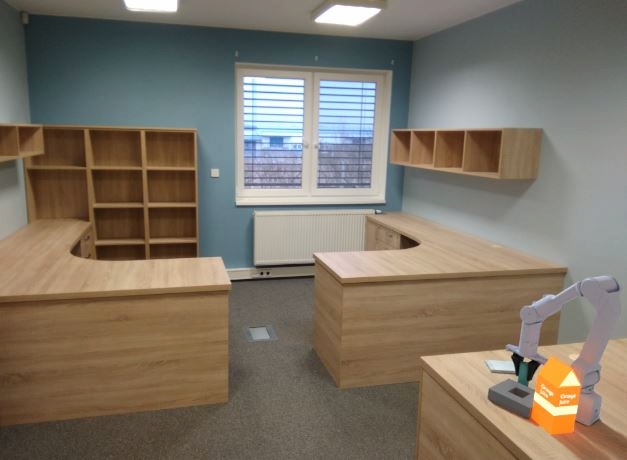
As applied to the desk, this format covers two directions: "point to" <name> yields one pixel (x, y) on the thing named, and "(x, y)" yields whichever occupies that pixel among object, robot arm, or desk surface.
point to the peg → (523, 373)
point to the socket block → (513, 397)
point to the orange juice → (556, 397)
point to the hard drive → (500, 366)
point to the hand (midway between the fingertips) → (523, 377)
